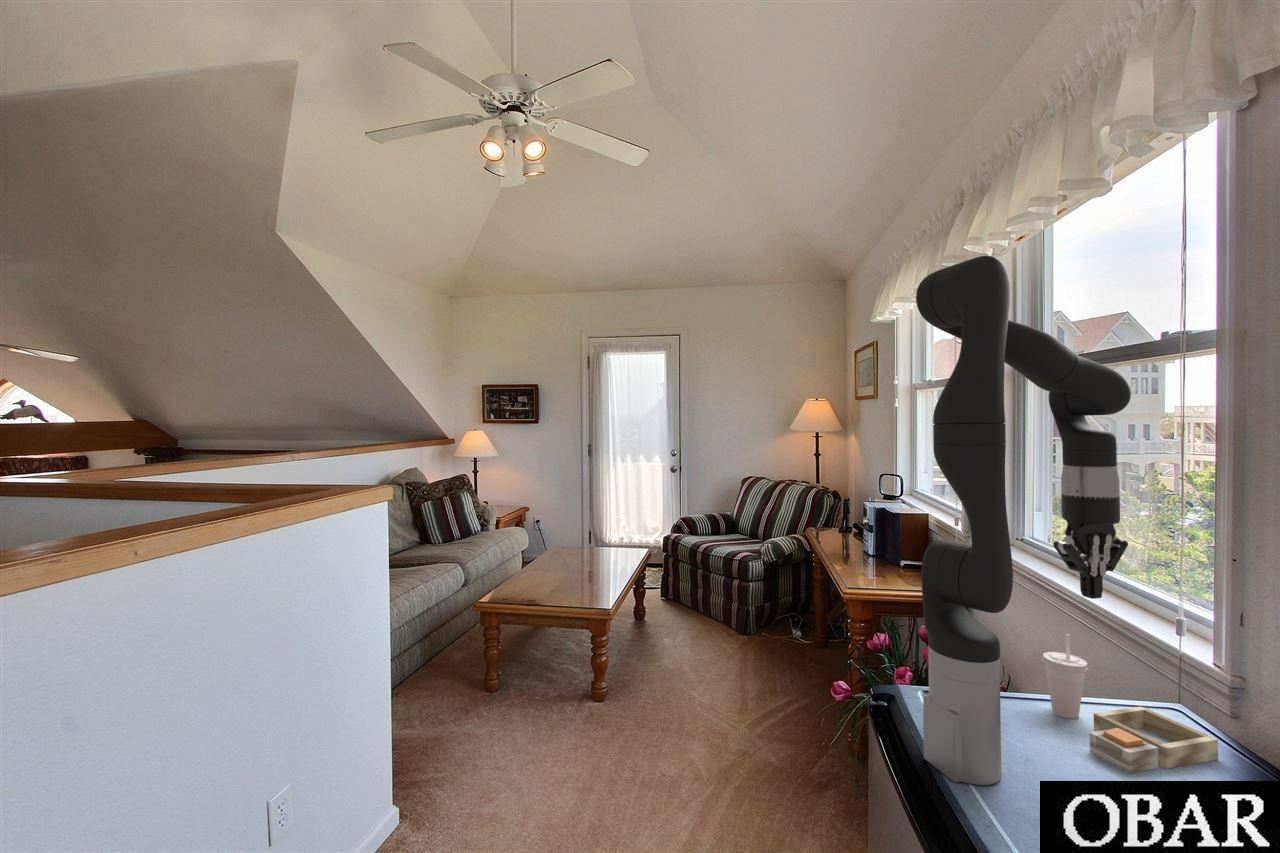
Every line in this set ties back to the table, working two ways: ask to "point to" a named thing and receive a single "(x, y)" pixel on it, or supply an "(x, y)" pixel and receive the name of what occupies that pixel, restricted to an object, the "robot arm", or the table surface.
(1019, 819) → the table surface
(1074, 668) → the smoothie
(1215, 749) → the station
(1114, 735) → the button
